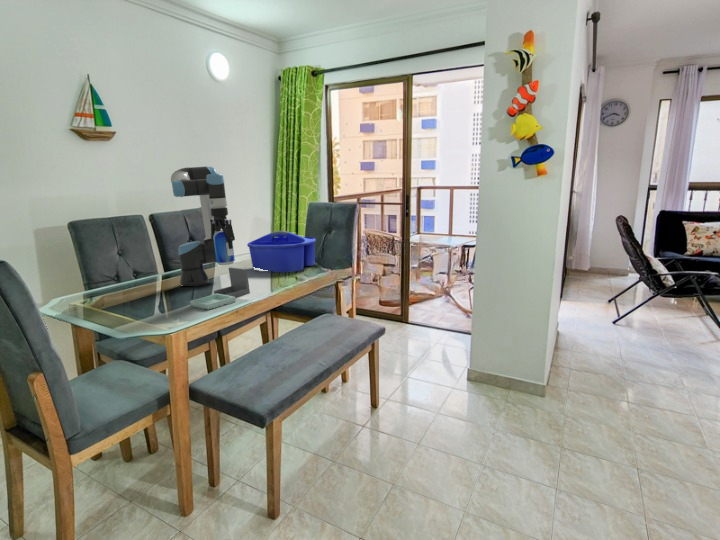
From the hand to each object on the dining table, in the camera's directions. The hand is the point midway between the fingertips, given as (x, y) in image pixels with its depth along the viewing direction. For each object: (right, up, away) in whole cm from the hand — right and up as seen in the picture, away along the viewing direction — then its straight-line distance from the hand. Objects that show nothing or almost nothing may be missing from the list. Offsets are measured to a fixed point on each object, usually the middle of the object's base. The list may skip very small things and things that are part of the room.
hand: (224, 254), depth 207 cm
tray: (-2, -23, -11) cm, 26 cm away
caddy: (+17, -6, +67) cm, 69 cm away
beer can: (0, -4, +1) cm, 5 cm away
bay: (+2, -19, +5) cm, 20 cm away
